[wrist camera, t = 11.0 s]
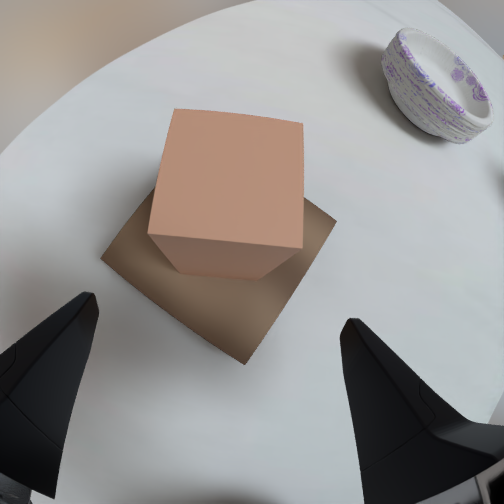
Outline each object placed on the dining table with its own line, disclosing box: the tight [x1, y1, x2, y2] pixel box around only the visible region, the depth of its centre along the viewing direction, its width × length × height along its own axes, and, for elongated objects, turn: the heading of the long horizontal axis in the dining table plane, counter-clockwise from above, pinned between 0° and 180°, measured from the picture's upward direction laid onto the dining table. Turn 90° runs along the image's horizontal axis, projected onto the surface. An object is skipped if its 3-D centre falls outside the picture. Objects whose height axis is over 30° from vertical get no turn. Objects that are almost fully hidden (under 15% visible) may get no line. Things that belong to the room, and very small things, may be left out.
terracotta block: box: [147, 109, 304, 281], centre depth 15 cm, size 5×5×10 cm
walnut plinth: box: [100, 187, 337, 365], centre depth 21 cm, size 12×12×3 cm
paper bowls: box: [381, 28, 494, 144], centre depth 26 cm, size 15×15×8 cm
